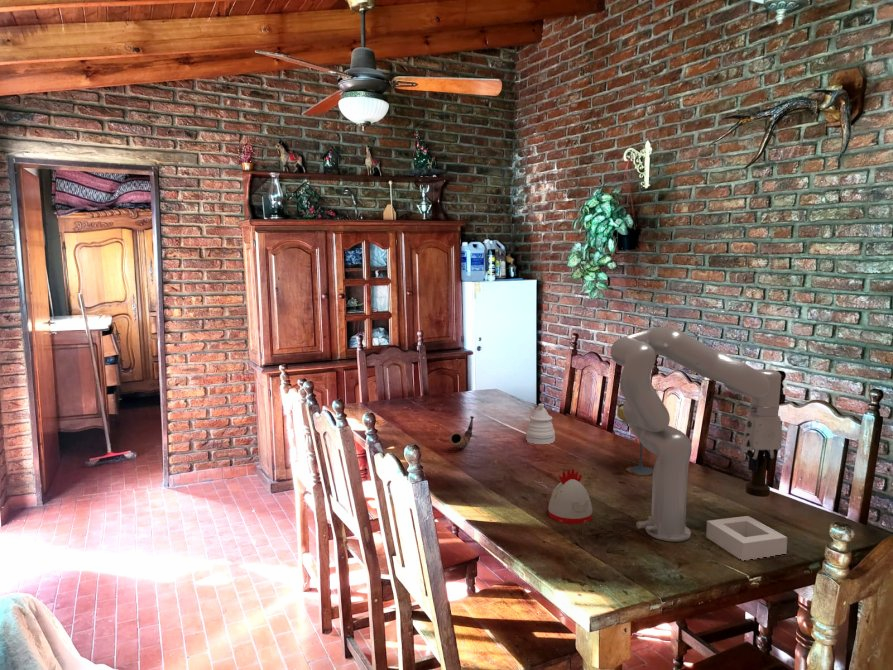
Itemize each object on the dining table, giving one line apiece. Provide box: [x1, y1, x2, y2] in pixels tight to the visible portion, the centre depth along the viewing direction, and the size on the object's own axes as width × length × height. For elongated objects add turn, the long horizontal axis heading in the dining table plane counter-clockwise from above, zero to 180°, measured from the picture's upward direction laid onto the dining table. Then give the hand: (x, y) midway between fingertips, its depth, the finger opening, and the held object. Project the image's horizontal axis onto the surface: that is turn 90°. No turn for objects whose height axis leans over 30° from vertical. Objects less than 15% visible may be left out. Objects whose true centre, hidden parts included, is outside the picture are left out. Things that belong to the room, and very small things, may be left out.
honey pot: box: [525, 403, 556, 444], centre depth 276 cm, size 13×13×18 cm
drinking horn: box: [449, 415, 475, 450], centre depth 273 cm, size 5×29×10 cm, turn 163°
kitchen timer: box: [547, 468, 593, 525], centre depth 196 cm, size 14×14×15 cm
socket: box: [705, 515, 788, 562], centre depth 174 cm, size 14×15×5 cm
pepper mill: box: [745, 450, 771, 498], centre depth 186 cm, size 7×6×18 cm
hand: (759, 469), depth 187 cm, fingers closed on pepper mill, 3 cm apart
